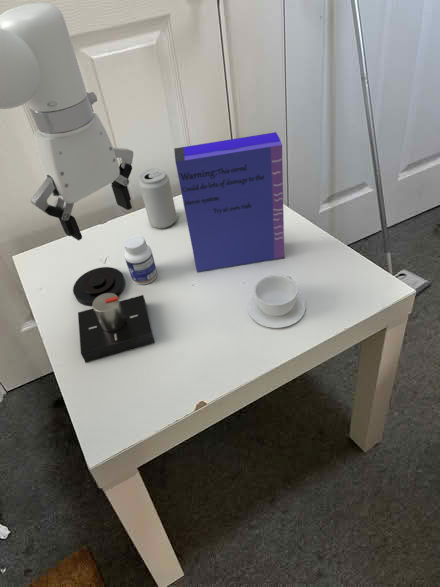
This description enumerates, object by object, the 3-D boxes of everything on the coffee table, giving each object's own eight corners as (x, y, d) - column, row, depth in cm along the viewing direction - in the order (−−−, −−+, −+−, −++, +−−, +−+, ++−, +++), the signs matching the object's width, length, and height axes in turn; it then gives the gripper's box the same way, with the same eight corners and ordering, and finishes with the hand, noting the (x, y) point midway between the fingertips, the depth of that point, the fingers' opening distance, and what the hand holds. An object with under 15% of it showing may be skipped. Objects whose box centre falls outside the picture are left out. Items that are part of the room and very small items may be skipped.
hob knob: (102, 334, 77) (92, 313, 74) (99, 317, 81) (90, 295, 77) (127, 327, 78) (119, 306, 74) (124, 310, 81) (116, 288, 77)
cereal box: (279, 243, 94) (276, 131, 77) (284, 258, 90) (282, 143, 74) (195, 257, 94) (173, 147, 77) (197, 272, 90) (175, 160, 74)
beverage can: (146, 219, 106) (133, 172, 97) (171, 210, 107) (161, 163, 99) (155, 233, 101) (142, 185, 93) (181, 224, 103) (172, 176, 94)
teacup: (289, 337, 76) (289, 318, 72) (238, 317, 80) (235, 298, 77) (314, 299, 81) (315, 279, 78) (265, 282, 86) (264, 263, 83)
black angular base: (85, 362, 77) (80, 353, 75) (82, 321, 84) (77, 311, 82) (155, 343, 78) (151, 332, 76) (146, 304, 85) (143, 294, 83)
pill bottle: (129, 272, 93) (118, 236, 86) (155, 264, 93) (145, 229, 87) (134, 288, 89) (122, 252, 83) (160, 280, 90) (150, 245, 83)
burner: (76, 312, 86) (72, 303, 84) (73, 278, 93) (70, 270, 92) (128, 298, 87) (125, 289, 86) (122, 266, 94) (119, 258, 93)
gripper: (99, 87, 67) (128, 189, 79) (-10, 133, 59) (41, 240, 70) (131, 96, 63) (157, 203, 74) (19, 148, 54) (67, 258, 66)
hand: (100, 221), depth 72 cm, fingers open, 9 cm apart
